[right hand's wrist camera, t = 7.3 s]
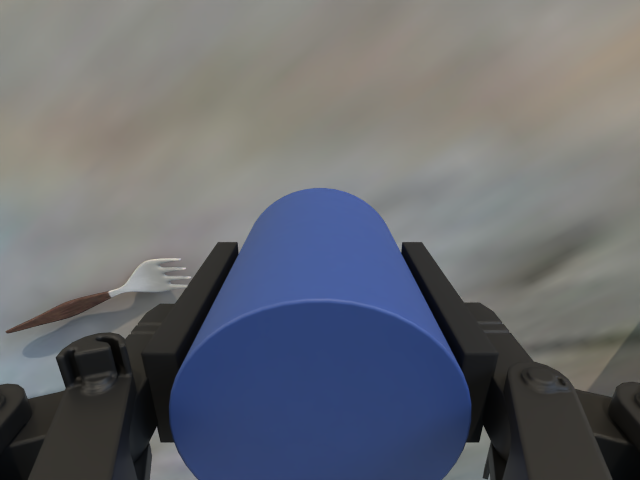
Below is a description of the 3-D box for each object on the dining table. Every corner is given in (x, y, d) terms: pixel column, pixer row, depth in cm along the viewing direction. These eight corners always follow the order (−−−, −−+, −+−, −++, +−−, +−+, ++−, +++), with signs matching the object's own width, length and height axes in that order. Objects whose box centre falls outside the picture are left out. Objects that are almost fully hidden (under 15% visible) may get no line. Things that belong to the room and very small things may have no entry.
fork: (0, 314, 27) (-24, 330, 25) (188, 244, 25) (178, 256, 23) (22, 341, 28) (1, 358, 26) (206, 275, 26) (197, 289, 24)
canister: (255, 174, 14) (172, 272, 6) (411, 203, 15) (520, 329, 7) (238, 311, 17) (163, 510, 9) (374, 332, 17) (422, 541, 9)
